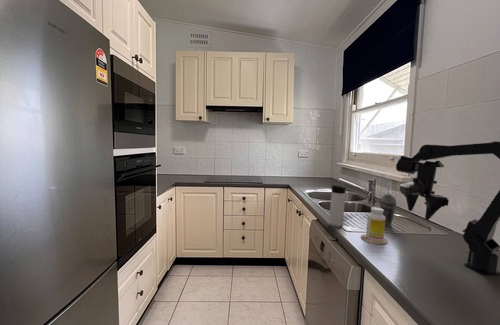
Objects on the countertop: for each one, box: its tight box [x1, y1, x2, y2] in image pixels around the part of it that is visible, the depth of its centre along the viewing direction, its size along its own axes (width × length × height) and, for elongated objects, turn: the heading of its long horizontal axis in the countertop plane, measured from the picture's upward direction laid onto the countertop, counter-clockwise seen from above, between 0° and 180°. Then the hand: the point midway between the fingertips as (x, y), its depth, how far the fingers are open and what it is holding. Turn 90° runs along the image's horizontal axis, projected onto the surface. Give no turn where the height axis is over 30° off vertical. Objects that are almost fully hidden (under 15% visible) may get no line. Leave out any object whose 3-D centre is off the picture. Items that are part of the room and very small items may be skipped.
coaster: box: [360, 233, 389, 246], centre depth 104 cm, size 10×10×1 cm
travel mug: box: [328, 184, 346, 229], centre depth 119 cm, size 6×7×20 cm
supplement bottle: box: [365, 206, 386, 241], centre depth 103 cm, size 7×7×13 cm
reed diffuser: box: [379, 185, 397, 228], centre depth 123 cm, size 7×7×20 cm
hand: (418, 215), depth 98 cm, fingers open, 9 cm apart
